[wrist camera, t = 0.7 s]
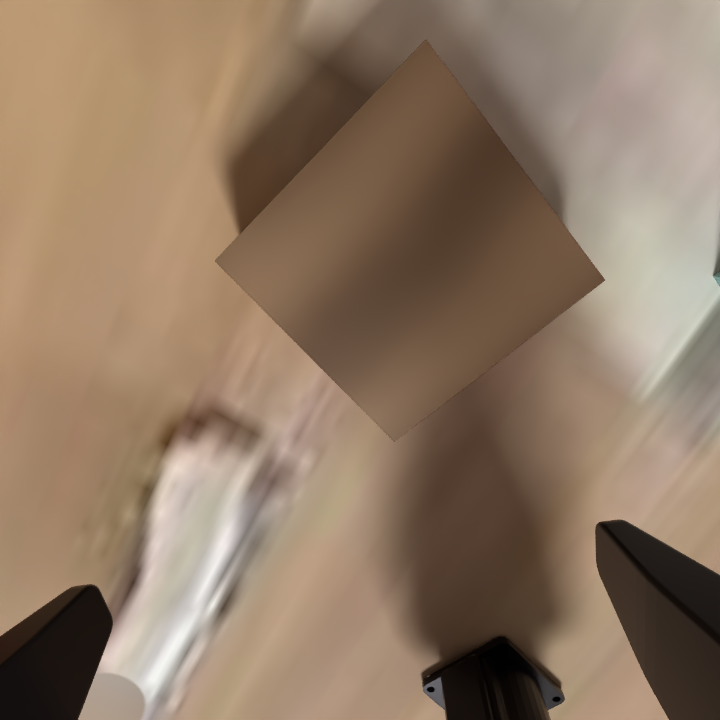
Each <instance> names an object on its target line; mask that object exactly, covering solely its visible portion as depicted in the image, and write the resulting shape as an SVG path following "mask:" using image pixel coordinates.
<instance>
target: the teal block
mask: <svg viewBox="0 0 720 720" xmlns="http://www.w3.org/2000/svg"><path fill="white" fill-rule="evenodd" d="M713 277H714V278H715V280H716V281H717V283H718V284H719V286H720V271H719V272H718V273H716V274H715V275H713Z"/></svg>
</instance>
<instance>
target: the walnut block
mask: <svg viewBox="0 0 720 720" xmlns="http://www.w3.org/2000/svg"><path fill="white" fill-rule="evenodd" d="M215 262H216V263H217V264H218V265H219V266H220V267H221V268H222V269H223V270H224V271H225V272H226V273H227V274H228V275H229V276H230V277H231V278H232V279H233V280H234V281H235V282H236V283H237V284H238V285H239V286H240V287H241V288H242V289H243V290H244V291H245V292H246V293H247V294H248V295H249V296H250V297H251V298H252V299H253V300H254V301H255V302H256V303H257V304H258V305H259V306H260V307H261V308H262V309H263V310H264V311H265V312H266V313H267V314H268V315H269V316H270V317H271V318H272V319H273V320H274V321H275V322H276V323H277V324H278V325H279V326H280V327H281V328H282V329H283V330H284V331H285V332H286V333H287V334H288V335H289V336H290V337H291V338H292V339H293V340H294V341H295V342H296V343H297V344H298V345H299V346H300V347H301V348H302V349H303V350H304V351H305V352H306V353H307V354H308V355H309V356H310V357H311V359H312V360H313V361H314V362H315V363H316V364H317V365H318V366H319V367H320V368H321V369H322V370H323V371H324V372H325V373H326V374H327V375H328V376H329V377H330V378H331V379H332V380H333V381H334V382H335V383H336V384H337V385H338V386H339V387H340V388H341V389H342V390H343V391H344V392H345V393H346V394H347V395H348V396H349V397H350V398H351V399H352V400H353V401H354V402H355V403H356V404H357V405H358V406H359V407H360V408H361V409H362V410H363V411H364V412H365V413H366V414H367V415H368V416H369V417H370V418H371V419H372V420H373V421H374V422H375V423H376V424H377V425H378V426H379V427H380V428H381V429H382V430H383V431H384V432H385V433H386V434H387V435H388V436H389V437H390V438H391V439H392V440H393V441H394V442H395V441H396V440H397V439H399V438H400V437H401V436H403V435H404V434H405V433H406V432H408V431H409V430H410V429H412V428H413V427H414V426H416V425H417V424H418V423H420V422H421V421H422V420H423V419H425V418H426V417H427V416H429V415H430V414H431V413H433V412H434V411H435V410H436V409H438V408H439V407H440V406H442V405H443V404H444V403H446V402H447V401H448V400H450V399H451V398H452V397H453V396H455V395H456V394H457V393H459V392H460V391H461V390H463V389H464V388H465V387H467V386H468V385H469V384H470V383H472V382H473V381H474V380H476V379H477V378H478V377H480V376H481V375H482V374H483V373H485V372H486V371H487V370H489V369H490V368H491V367H493V366H494V365H495V364H497V363H498V362H499V361H500V360H502V359H503V358H504V357H506V356H507V355H508V354H510V353H511V352H512V351H513V350H515V349H516V348H517V347H519V346H520V345H521V344H523V343H524V342H525V341H527V340H528V339H529V338H530V337H532V336H533V335H534V334H536V333H537V332H538V331H540V330H541V329H542V328H544V327H545V326H546V325H547V324H549V323H550V322H551V321H553V320H554V319H555V318H557V317H558V316H559V315H560V314H562V313H563V312H564V311H566V310H567V309H568V308H570V307H571V306H572V305H574V304H575V303H576V302H577V301H579V300H580V299H581V298H583V297H584V296H585V295H587V294H588V293H589V292H590V291H592V290H593V289H594V288H596V287H597V286H598V285H600V284H601V283H602V282H604V281H605V279H604V278H603V277H602V275H601V274H600V273H599V271H598V270H597V268H596V267H595V266H594V264H593V263H592V262H591V260H590V259H589V258H588V256H587V255H586V254H585V252H584V251H583V250H582V248H581V247H580V246H579V244H578V243H577V242H576V240H575V239H574V238H573V236H572V235H571V234H570V232H569V231H568V229H567V228H566V227H565V225H564V224H563V223H562V221H561V220H560V219H559V217H558V216H557V215H556V213H555V212H554V211H553V209H552V208H551V207H550V205H549V204H548V203H547V201H546V200H545V199H544V197H543V196H542V195H541V193H540V192H539V191H538V189H537V188H536V186H535V185H534V184H533V182H532V181H531V180H530V178H529V177H528V176H527V174H526V173H525V172H524V170H523V169H522V168H521V166H520V165H519V164H518V162H517V161H516V160H515V158H514V157H513V156H512V154H511V153H510V152H509V150H508V149H507V147H506V146H505V145H504V143H503V142H502V141H501V139H500V138H499V137H498V135H497V134H496V133H495V131H494V130H493V129H492V127H491V126H490V125H489V123H488V122H487V121H486V119H485V118H484V117H483V115H482V114H481V113H480V111H479V110H478V109H477V107H476V106H475V104H474V103H473V102H472V100H471V99H470V98H469V96H468V95H467V94H466V92H465V91H464V90H463V88H462V87H461V86H460V84H459V83H458V82H457V80H456V79H455V78H454V76H453V75H452V74H451V72H450V71H449V70H448V68H447V67H446V65H445V64H444V63H443V61H442V60H441V59H440V57H439V56H438V55H437V53H436V52H435V51H434V49H433V48H432V47H431V45H430V44H429V43H428V41H427V40H425V41H424V42H423V43H422V44H421V45H420V46H419V47H418V48H417V49H416V50H415V51H414V52H413V53H412V54H411V55H410V57H409V58H408V59H407V60H406V61H405V62H404V63H403V64H402V65H401V66H400V67H399V68H398V69H397V70H396V71H395V72H394V73H393V74H392V75H391V76H390V78H389V79H388V80H387V81H386V82H385V83H384V84H383V85H382V86H381V87H380V88H379V89H378V90H377V91H376V92H375V93H374V94H373V95H372V96H371V97H370V98H369V100H368V101H367V102H366V103H365V104H364V105H363V106H362V107H361V108H360V109H359V110H358V111H357V112H356V113H355V114H354V115H353V116H352V117H351V118H350V119H349V120H348V122H347V123H346V124H345V125H344V126H343V127H342V128H341V129H340V130H339V131H338V132H337V133H336V134H335V135H334V136H333V137H332V138H331V139H330V140H329V141H328V142H327V144H326V145H325V146H324V147H323V148H322V149H321V150H320V151H319V152H318V153H317V154H316V155H315V156H314V157H313V158H312V159H311V160H310V161H309V162H308V163H307V164H306V166H305V167H304V168H303V169H302V170H301V171H300V172H299V173H298V174H297V175H296V176H295V177H294V178H293V179H292V180H291V181H290V182H289V183H288V184H287V185H286V186H285V188H284V189H283V190H282V191H281V192H280V193H279V194H278V195H277V196H276V197H275V198H274V199H273V200H272V201H271V202H270V203H269V204H268V205H267V206H266V207H265V208H264V210H263V211H262V212H261V213H260V214H259V215H258V216H257V217H256V218H255V219H254V220H253V221H252V222H251V223H250V224H249V225H248V226H247V227H246V228H245V229H244V231H243V232H242V233H241V234H240V235H239V236H238V237H237V238H236V239H235V240H234V241H233V242H232V243H231V244H230V245H229V246H228V247H227V248H226V249H225V250H224V251H223V253H222V254H221V255H220V256H219V257H218V258H217V259H216V260H215Z"/></svg>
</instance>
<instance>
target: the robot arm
mask: <svg viewBox="0 0 720 720" xmlns="http://www.w3.org/2000/svg"><path fill="white" fill-rule="evenodd" d="M595 536H596V563H597V568H598V572H599V575H600V577H601V580H602V582H603V584H604V586H605V588H606V591H607V593H608V595H609V597H610V600H611V602H612V604H613V606H614V609H615V611H616V613H617V615H618V618H619V620H620V622H621V624H622V627H623V629H624V631H625V633H626V636H627V638H628V640H629V642H630V645H631V647H632V649H633V651H634V653H635V656H636V658H637V660H638V662H639V664H640V667H641V669H642V671H643V673H644V675H645V677H646V679H647V681H648V683H649V684H650V686H651V688H652V690H653V692H654V694H655V695H656V697H657V699H658V701H659V703H660V704H661V706H662V708H663V710H664V711H665V713H666V715H667V717H668V718H669V720H720V575H719V574H717V573H715V572H714V571H712V570H710V569H709V568H707V567H705V566H703V565H702V564H700V563H698V562H696V561H695V560H693V559H691V558H689V557H688V556H686V555H684V554H682V553H681V552H679V551H677V550H676V549H674V548H672V547H670V546H669V545H667V544H665V543H663V542H662V541H660V540H658V539H656V538H655V537H653V536H651V535H649V534H648V533H646V532H644V531H643V530H641V529H639V528H637V527H636V526H634V525H632V524H630V523H629V522H627V521H624V520H611V521H603V522H599V523H598V524H597V525H596V529H595ZM112 626H113V618H112V615H111V612H110V610H109V608H108V606H107V604H106V602H105V600H104V598H103V596H102V594H101V592H100V590H99V588H98V587H97V586H95V585H92V584H89V585H80V586H74V587H71V588H69V589H68V590H66V591H65V592H63V593H62V594H60V595H59V596H57V597H56V598H55V599H53V600H52V601H50V602H49V603H47V604H46V605H44V606H43V607H42V608H40V609H39V610H37V611H36V612H34V613H33V614H32V615H30V616H29V617H27V618H26V619H24V620H23V621H22V622H20V623H19V624H17V625H16V626H14V627H13V628H11V629H10V630H9V631H7V632H6V633H4V634H3V635H1V636H0V720H78V718H79V715H80V713H81V710H82V708H83V705H84V703H85V700H86V697H87V694H88V692H89V689H90V687H91V684H92V681H93V679H94V676H95V673H96V671H97V668H98V665H99V663H100V660H101V658H102V655H103V652H104V650H105V647H106V644H107V642H108V639H109V636H110V634H111V631H112ZM422 684H423V691H424V693H425V694H426V695H428V696H429V697H430V698H431V699H432V700H434V701H435V702H436V703H437V704H438V705H439V706H441V707H442V708H443V709H444V710H445V715H446V720H551V719H550V716H549V713H548V710H549V709H551V708H553V707H555V706H557V705H559V704H561V703H562V702H564V700H565V697H564V695H563V692H562V690H561V689H560V688H559V687H558V686H557V685H556V684H555V683H554V682H553V681H552V680H551V679H550V678H549V677H548V676H547V675H546V674H545V673H544V672H542V671H541V670H540V669H539V668H538V667H537V666H536V665H535V664H534V663H533V662H532V661H531V660H530V659H529V658H528V657H527V656H526V655H525V654H524V653H523V652H522V651H520V650H519V649H518V648H517V647H516V646H515V645H514V644H513V643H512V642H511V641H510V640H509V639H508V638H506V637H499V638H496V639H494V640H493V641H491V642H489V643H487V644H486V645H484V646H482V647H480V648H479V649H477V650H475V651H473V652H471V653H470V654H468V655H466V656H464V657H463V658H461V659H459V660H457V661H456V662H454V663H452V664H450V665H448V666H447V667H445V668H443V669H441V670H440V671H438V672H436V673H434V674H432V675H431V676H429V677H427V678H425V679H424V680H423V682H422Z"/></svg>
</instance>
